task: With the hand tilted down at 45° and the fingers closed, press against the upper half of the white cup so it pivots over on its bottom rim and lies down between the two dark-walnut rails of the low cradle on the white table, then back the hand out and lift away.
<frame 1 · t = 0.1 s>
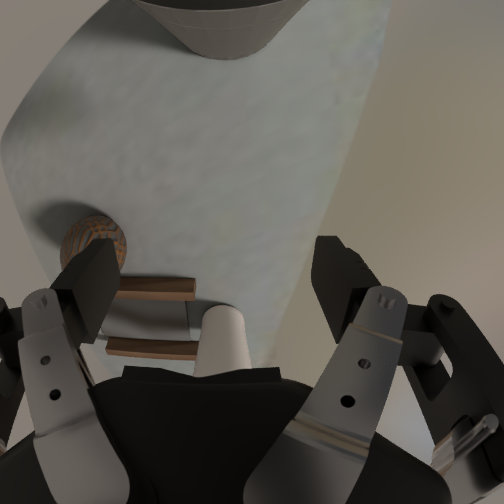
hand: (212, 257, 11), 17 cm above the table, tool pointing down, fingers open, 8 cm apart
vase: (105, 233, 29), on the table
white cup: (223, 316, 37), on the table
cradle: (146, 315, 36), on the table
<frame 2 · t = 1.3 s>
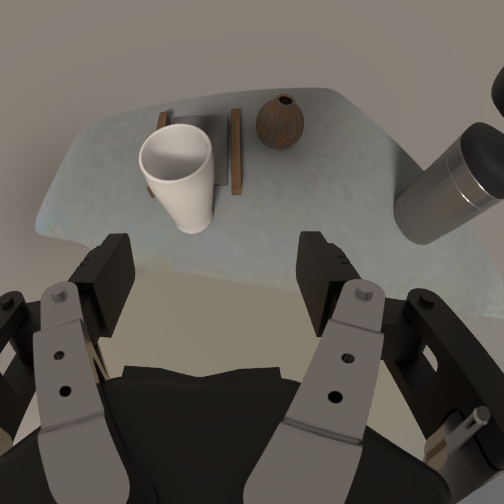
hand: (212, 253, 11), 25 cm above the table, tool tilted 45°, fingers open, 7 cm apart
vase: (276, 139, 43), on the table
white cup: (193, 217, 38), on the table
cradle: (197, 154, 41), on the table
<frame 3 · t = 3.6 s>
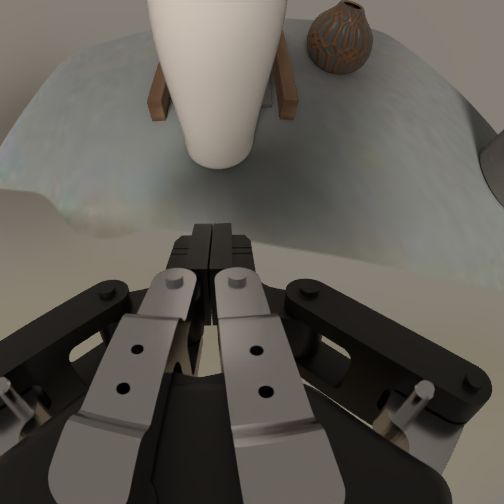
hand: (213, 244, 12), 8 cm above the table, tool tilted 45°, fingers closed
vase: (331, 65, 27), on the table
white cup: (219, 146, 22), on the table
cradle: (224, 70, 25), on the table
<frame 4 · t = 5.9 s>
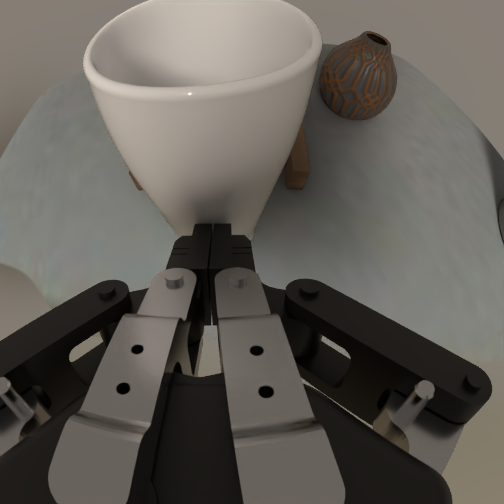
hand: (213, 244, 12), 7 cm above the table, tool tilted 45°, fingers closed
vase: (345, 106, 25), on the table
white cup: (216, 228, 20), on the table, touching gripper
cradle: (221, 118, 23), on the table
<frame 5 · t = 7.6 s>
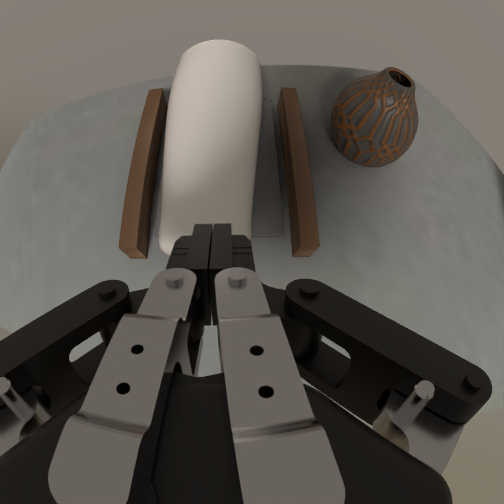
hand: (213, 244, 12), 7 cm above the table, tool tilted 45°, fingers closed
vase: (357, 147, 24), on the table
white cup: (203, 259, 16), point 3 cm above the table, touching cradle
cradle: (219, 168, 21), on the table
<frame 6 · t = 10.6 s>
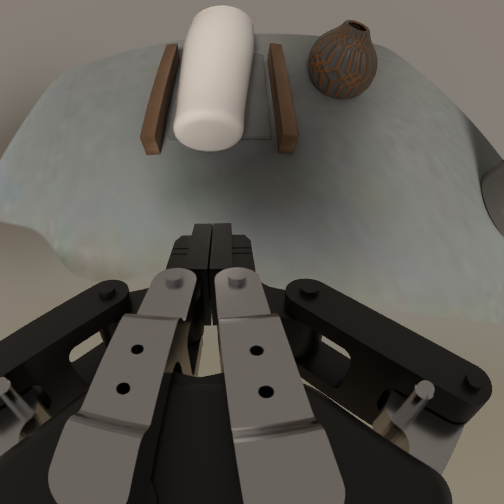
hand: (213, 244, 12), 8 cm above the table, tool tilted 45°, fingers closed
vase: (332, 88, 27), on the table
white cup: (207, 138, 20), point 3 cm above the table, touching cradle
cradle: (221, 96, 25), on the table
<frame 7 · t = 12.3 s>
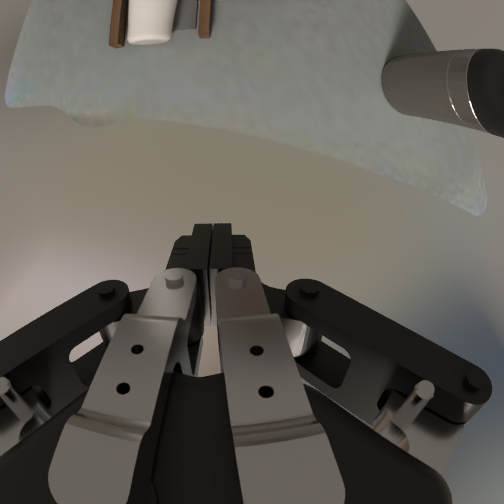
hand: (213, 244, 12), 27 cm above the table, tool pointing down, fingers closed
white cup: (148, 43, 25), point 3 cm above the table, touching cradle
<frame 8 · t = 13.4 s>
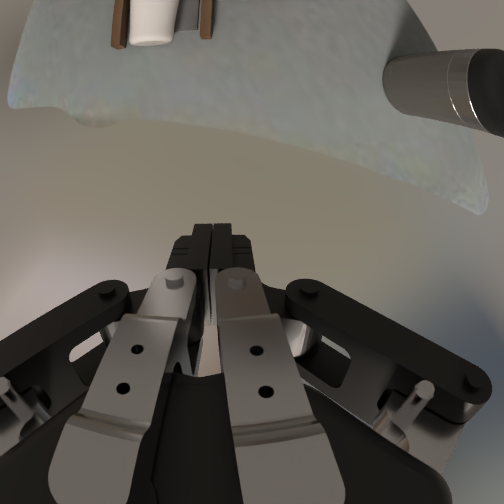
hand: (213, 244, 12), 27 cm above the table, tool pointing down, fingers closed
white cup: (150, 44, 26), point 3 cm above the table, touching cradle
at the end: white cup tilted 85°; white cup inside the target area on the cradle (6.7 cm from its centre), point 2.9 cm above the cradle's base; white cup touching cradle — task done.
